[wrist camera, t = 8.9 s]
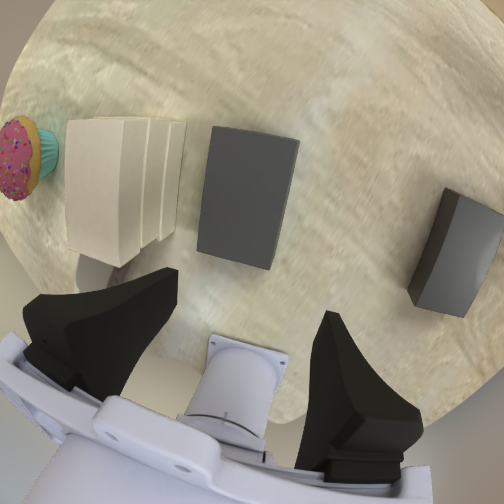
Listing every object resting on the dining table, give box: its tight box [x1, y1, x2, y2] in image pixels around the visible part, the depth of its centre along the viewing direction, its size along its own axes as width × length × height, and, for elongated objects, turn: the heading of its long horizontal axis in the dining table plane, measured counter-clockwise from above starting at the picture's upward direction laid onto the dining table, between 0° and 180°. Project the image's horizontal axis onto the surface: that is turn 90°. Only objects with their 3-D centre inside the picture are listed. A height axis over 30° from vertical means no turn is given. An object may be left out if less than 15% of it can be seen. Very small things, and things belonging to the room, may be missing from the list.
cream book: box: [64, 119, 148, 268], centre depth 16 cm, size 9×5×2 cm, turn 169°
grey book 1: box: [197, 126, 300, 270], centre depth 19 cm, size 9×6×2 cm, turn 169°
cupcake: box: [0, 116, 58, 201], centre depth 17 cm, size 9×8×12 cm
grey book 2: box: [407, 188, 504, 318], centre depth 17 cm, size 9×6×2 cm, turn 169°
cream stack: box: [92, 117, 187, 248], centre depth 19 cm, size 9×6×5 cm, turn 169°
